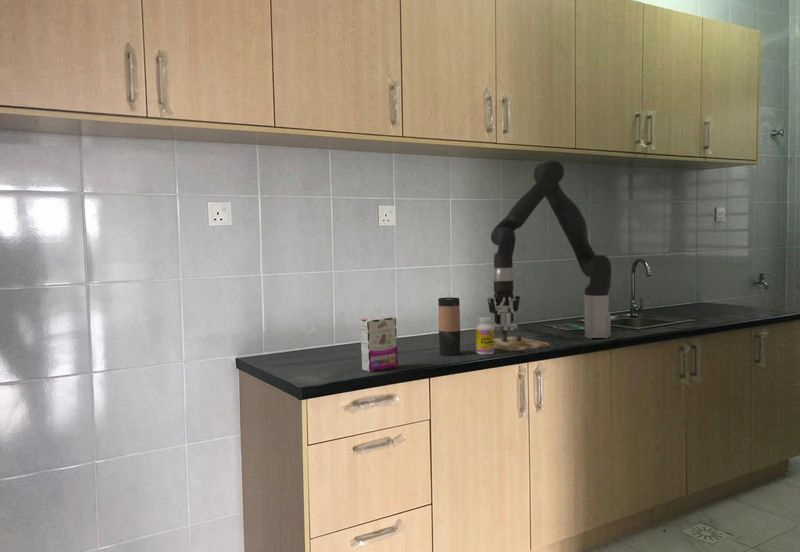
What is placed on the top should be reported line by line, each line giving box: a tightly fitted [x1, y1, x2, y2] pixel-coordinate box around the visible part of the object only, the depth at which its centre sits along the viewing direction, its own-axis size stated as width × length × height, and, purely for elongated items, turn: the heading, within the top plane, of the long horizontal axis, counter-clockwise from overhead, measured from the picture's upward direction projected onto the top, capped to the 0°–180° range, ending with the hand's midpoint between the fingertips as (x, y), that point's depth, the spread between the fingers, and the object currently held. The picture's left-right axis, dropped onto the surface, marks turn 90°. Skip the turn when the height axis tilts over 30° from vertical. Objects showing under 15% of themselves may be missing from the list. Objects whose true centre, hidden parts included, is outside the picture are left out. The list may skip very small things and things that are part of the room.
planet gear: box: [492, 311, 519, 331], centre depth 245 cm, size 10×10×6 cm
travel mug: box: [437, 296, 461, 357], centre depth 227 cm, size 8×8×20 cm
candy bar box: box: [359, 315, 399, 373], centre depth 205 cm, size 11×5×16 cm, turn 126°
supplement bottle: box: [474, 316, 495, 356], centre depth 227 cm, size 7×7×13 cm
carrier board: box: [494, 330, 550, 352], centre depth 244 cm, size 18×21×6 cm
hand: (504, 323), depth 245 cm, fingers closed on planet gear, 5 cm apart
